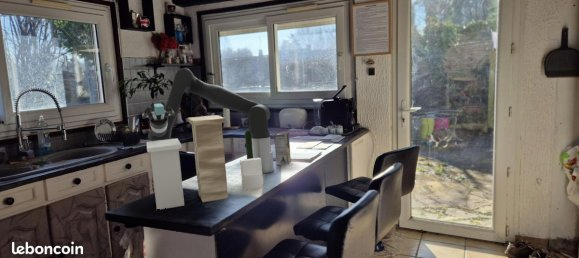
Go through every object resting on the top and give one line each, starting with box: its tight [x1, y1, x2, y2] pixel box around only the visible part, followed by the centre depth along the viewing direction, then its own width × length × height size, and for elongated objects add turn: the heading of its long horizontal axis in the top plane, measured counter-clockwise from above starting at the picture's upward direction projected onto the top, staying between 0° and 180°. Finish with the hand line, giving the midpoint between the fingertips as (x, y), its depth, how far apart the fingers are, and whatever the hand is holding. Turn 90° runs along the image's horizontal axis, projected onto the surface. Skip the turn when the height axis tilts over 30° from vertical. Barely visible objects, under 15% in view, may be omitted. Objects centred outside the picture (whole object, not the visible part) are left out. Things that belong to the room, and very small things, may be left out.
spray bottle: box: [244, 117, 253, 159], centre depth 227 cm, size 10×10×25 cm
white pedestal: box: [146, 138, 185, 210], centre depth 153 cm, size 18×12×24 cm, turn 20°
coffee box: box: [273, 132, 292, 166], centre depth 212 cm, size 9×6×16 cm
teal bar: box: [154, 102, 165, 115], centre depth 155 cm, size 24×3×3 cm, turn 20°
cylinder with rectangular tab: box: [239, 158, 264, 190], centre depth 170 cm, size 9×9×12 cm
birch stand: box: [187, 114, 229, 203], centre depth 158 cm, size 18×12×32 cm, turn 20°
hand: (157, 104), depth 162 cm, fingers closed on teal bar, 3 cm apart
